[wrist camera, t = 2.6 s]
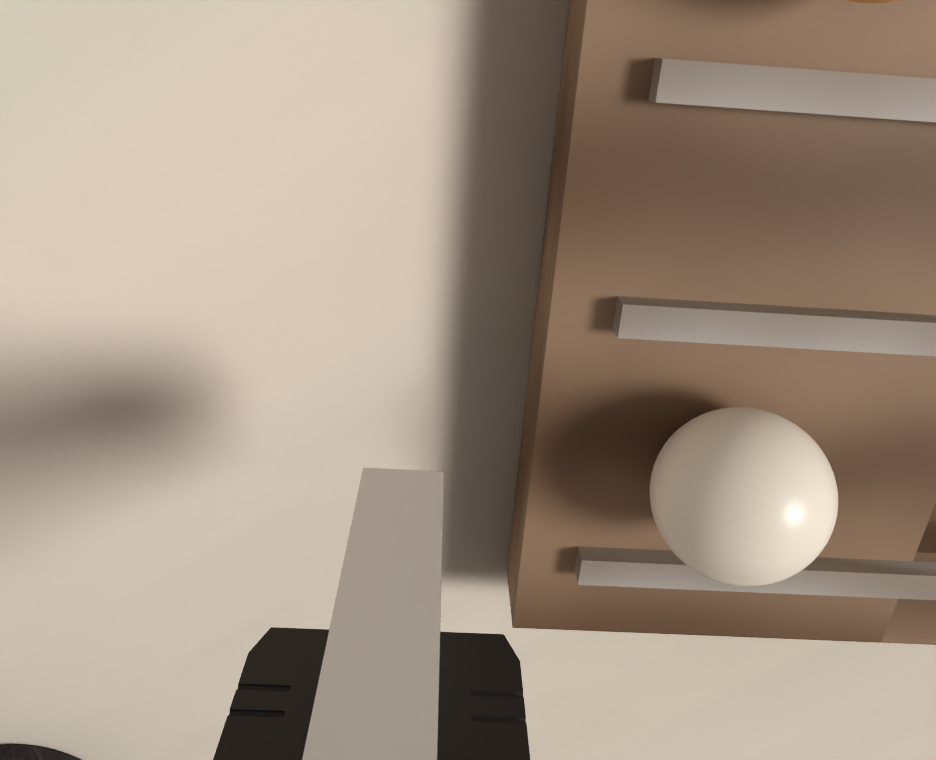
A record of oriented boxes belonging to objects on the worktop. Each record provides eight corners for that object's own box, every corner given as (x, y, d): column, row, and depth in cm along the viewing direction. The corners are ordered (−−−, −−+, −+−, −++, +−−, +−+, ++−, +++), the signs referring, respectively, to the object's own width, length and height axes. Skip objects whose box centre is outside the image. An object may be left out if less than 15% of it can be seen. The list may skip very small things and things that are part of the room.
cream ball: (771, 520, 20) (843, 629, 16) (621, 513, 19) (660, 622, 16) (810, 383, 18) (901, 469, 14) (646, 374, 18) (696, 459, 14)
